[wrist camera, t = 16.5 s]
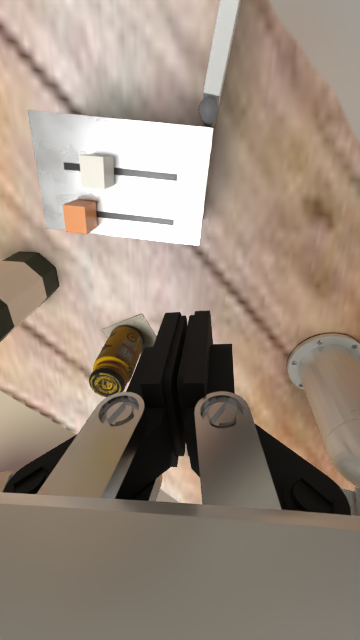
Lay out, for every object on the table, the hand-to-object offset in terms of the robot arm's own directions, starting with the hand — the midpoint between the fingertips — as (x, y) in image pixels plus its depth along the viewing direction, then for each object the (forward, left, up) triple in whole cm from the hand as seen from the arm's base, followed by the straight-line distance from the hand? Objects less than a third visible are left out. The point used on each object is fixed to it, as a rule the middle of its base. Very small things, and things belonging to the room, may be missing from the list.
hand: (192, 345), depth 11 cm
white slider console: (+8, -3, -32) cm, 33 cm away
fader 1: (+10, -4, -20) cm, 22 cm away
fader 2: (+12, 0, -20) cm, 23 cm away
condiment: (+10, +24, -32) cm, 41 cm away
